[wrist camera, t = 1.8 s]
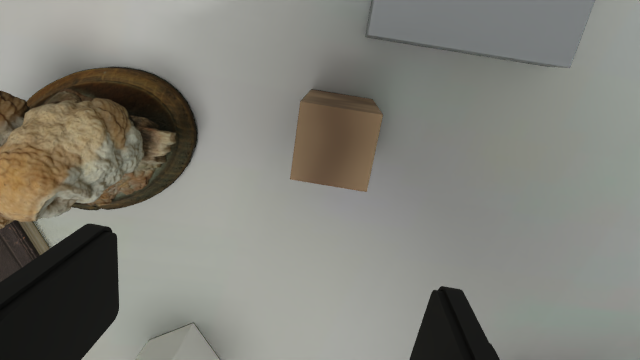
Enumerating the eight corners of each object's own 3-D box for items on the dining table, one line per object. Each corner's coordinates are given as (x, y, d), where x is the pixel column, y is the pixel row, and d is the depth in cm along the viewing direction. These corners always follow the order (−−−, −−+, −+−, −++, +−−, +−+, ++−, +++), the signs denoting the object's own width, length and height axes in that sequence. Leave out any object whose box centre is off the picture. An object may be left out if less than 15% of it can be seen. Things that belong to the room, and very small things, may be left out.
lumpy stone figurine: (60, 230, 35) (-183, 378, 19) (-15, 116, 32) (-387, 178, 16) (223, 169, 32) (97, 285, 16) (158, 35, 29) (-87, 9, 12)
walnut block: (372, 99, 29) (382, 115, 21) (360, 158, 31) (366, 191, 23) (311, 89, 29) (300, 101, 22) (303, 148, 31) (290, 179, 23)
